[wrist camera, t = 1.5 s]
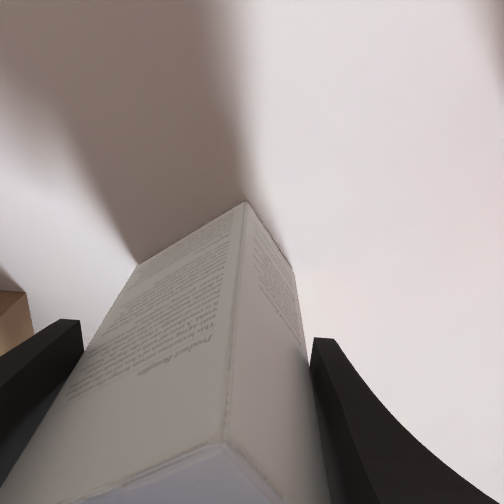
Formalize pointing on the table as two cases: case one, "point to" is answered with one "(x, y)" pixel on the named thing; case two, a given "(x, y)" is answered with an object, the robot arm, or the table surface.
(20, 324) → the walnut block
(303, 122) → the table surface
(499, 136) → the table surface
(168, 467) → the skincare box
